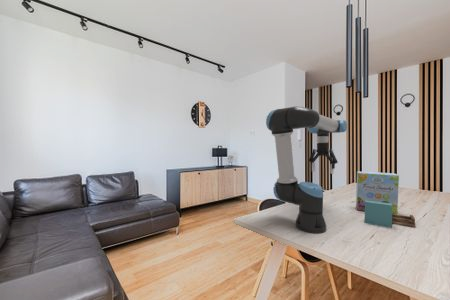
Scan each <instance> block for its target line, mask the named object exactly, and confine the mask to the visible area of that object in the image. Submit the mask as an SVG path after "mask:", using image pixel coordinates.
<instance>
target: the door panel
mask: <svg viewBox="0 0 450 300" xmlns="http://www.w3.org/2000/svg"><path fill="white" fill-rule="evenodd" d="M364 224H369V225H374V226H375V225H376V226H380V227H387V228H389V229H390V228H391V229H392V228H393V224H392V204H390V203H382V202H375V201H367V200H365V211H364Z"/></svg>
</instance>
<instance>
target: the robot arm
mask: <svg viewBox="0 0 450 300" xmlns="http://www.w3.org/2000/svg"><path fill="white" fill-rule="evenodd" d="M265 123H266V128H267V129H268V130H269V131H271V136H273V137H274V141H275V142H274V143H275V150H276V151H275V152H276V161H277V170H278V171H277V172H278V178H277V179H276V182H274V185H273V194H274V197H275V198H276V199H277V200H279V201H280V202H283V203H289V204H292V205H297V206H298V214H297V215H296V216H297V217H296V219H295V227H296V228H297V229H298V230H300V231H303V232H305V233H311V234H321V233H325V232H326V231H327V223H326V220H325V217H324V215H323V214H324V210H323V209H324V208H323V207H324V190H323V187H322V186H321V185H320V184H318V183H314V182H311V181H308V182H307V181H300V182H299V180H298V178H297V176H295V170H294V168H295V167H294V158H293V148H292V146H293V145H292V137H291V135H292V134H293V133H294V130H297V129H304V128H305V129H306V128H307V130H308V132H309V133H310V134H316V142H317V143H316V148H313V149H312V152H311V153H310V154H311V155H310V157H309V159H308V162H309V163H310V167H311V172H315V171H316V160H317V159H318V158H319V157H320V156H322V157H324V156H325V158H326V159H328V161H329V162H330V164H329V167H330V168H329V169H330V171H329V174H334V170H335V168H336V167H335V165H336V164H339V163H338V162H339V161H338V159H337V158H336V155H335V154H334V153H335V152H334V149H329V142H330V141H329V139H330V134H332V133H333V134H334V133H335V134H336V133H338V134H339V133H345V132H346V131H347V129H348V123H347V121H346V120H345V119H342V120H341V119H340V120H339V119H337V120H336V119H333V118H331V117H327V116H325V115H322V114H319V112H318V111H316V110H314V109H311V108H309V107H308V108H307V107H303V106H290V107H285V108H283V107H282V108H277V109H274V110H270V112H269V113H268V115H267V116H266V119H265Z"/></svg>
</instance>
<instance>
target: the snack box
mask: <svg viewBox="0 0 450 300" xmlns="http://www.w3.org/2000/svg"><path fill="white" fill-rule="evenodd" d="M399 177H400V176H399V174H397V173H393V172H391V173H390V172H377V171H356V193H355V194H356V196H355V208H356V210H357V211H361V212H365V200H367V201H375V202H382V203H390V204H392V214H396V215H398V206H399V205H398V204H399V180H400V178H399Z"/></svg>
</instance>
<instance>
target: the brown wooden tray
mask: <svg viewBox="0 0 450 300" xmlns="http://www.w3.org/2000/svg"><path fill="white" fill-rule="evenodd" d="M392 225H398V226H400V227H408V228H412V229H415V228H416V219H415V217H414V215H413V214H410V215H402V214H397V215H396V214H392Z"/></svg>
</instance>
